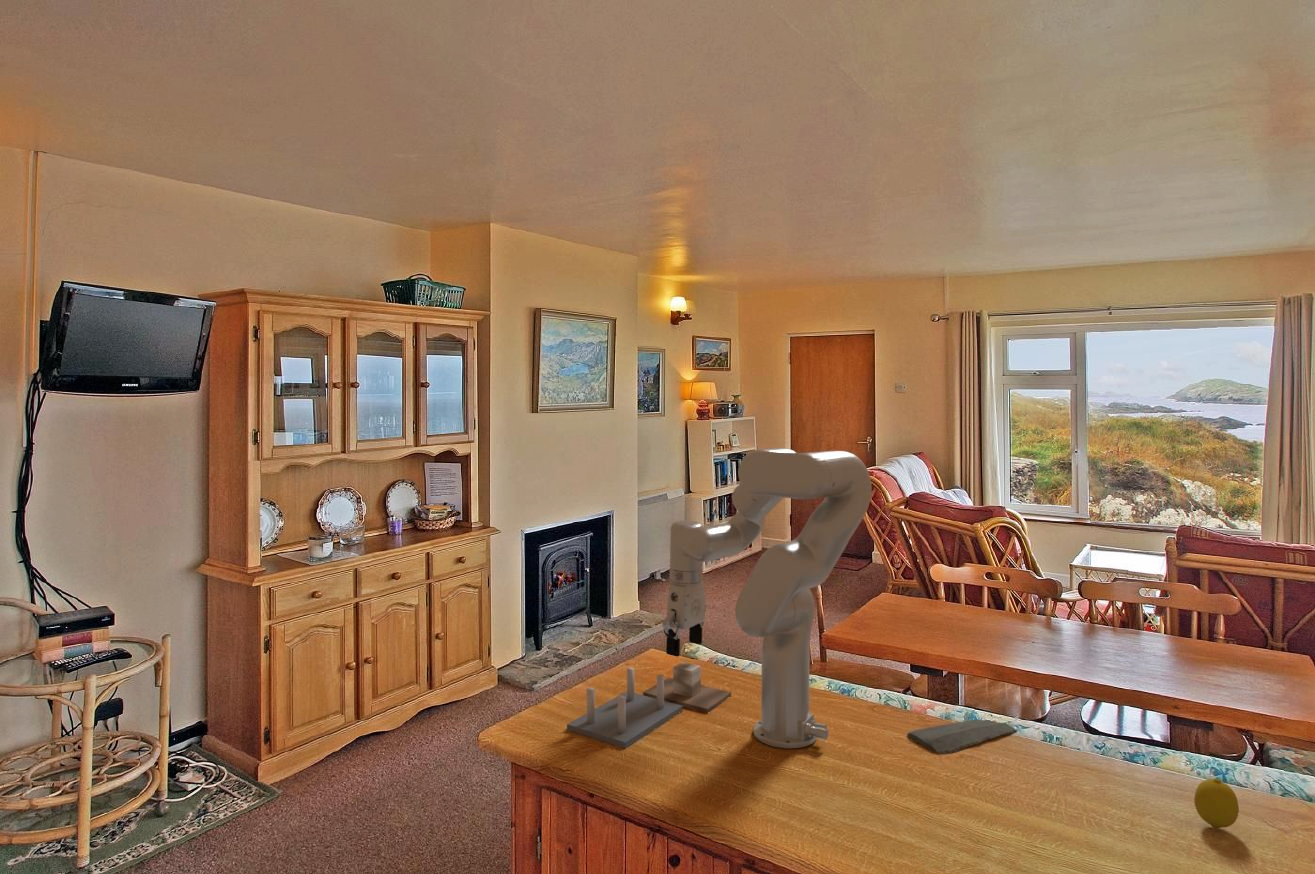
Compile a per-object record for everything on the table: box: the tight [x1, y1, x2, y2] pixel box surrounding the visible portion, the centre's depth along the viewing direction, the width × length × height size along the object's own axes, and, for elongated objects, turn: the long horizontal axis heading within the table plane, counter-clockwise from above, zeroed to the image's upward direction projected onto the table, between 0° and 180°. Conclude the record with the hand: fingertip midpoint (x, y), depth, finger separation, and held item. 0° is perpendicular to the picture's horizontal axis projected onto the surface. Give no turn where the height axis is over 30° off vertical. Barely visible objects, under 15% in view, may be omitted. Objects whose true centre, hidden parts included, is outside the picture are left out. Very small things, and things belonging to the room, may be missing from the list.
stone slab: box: [906, 719, 1018, 755], centre depth 149 cm, size 22×3×10 cm
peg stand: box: [566, 667, 684, 749], centre depth 157 cm, size 15×21×8 cm
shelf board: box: [642, 661, 732, 714], centre depth 169 cm, size 17×11×8 cm, turn 57°
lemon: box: [1193, 778, 1240, 830], centre depth 116 cm, size 6×6×8 cm
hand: (684, 648), depth 169 cm, fingers open, 9 cm apart
